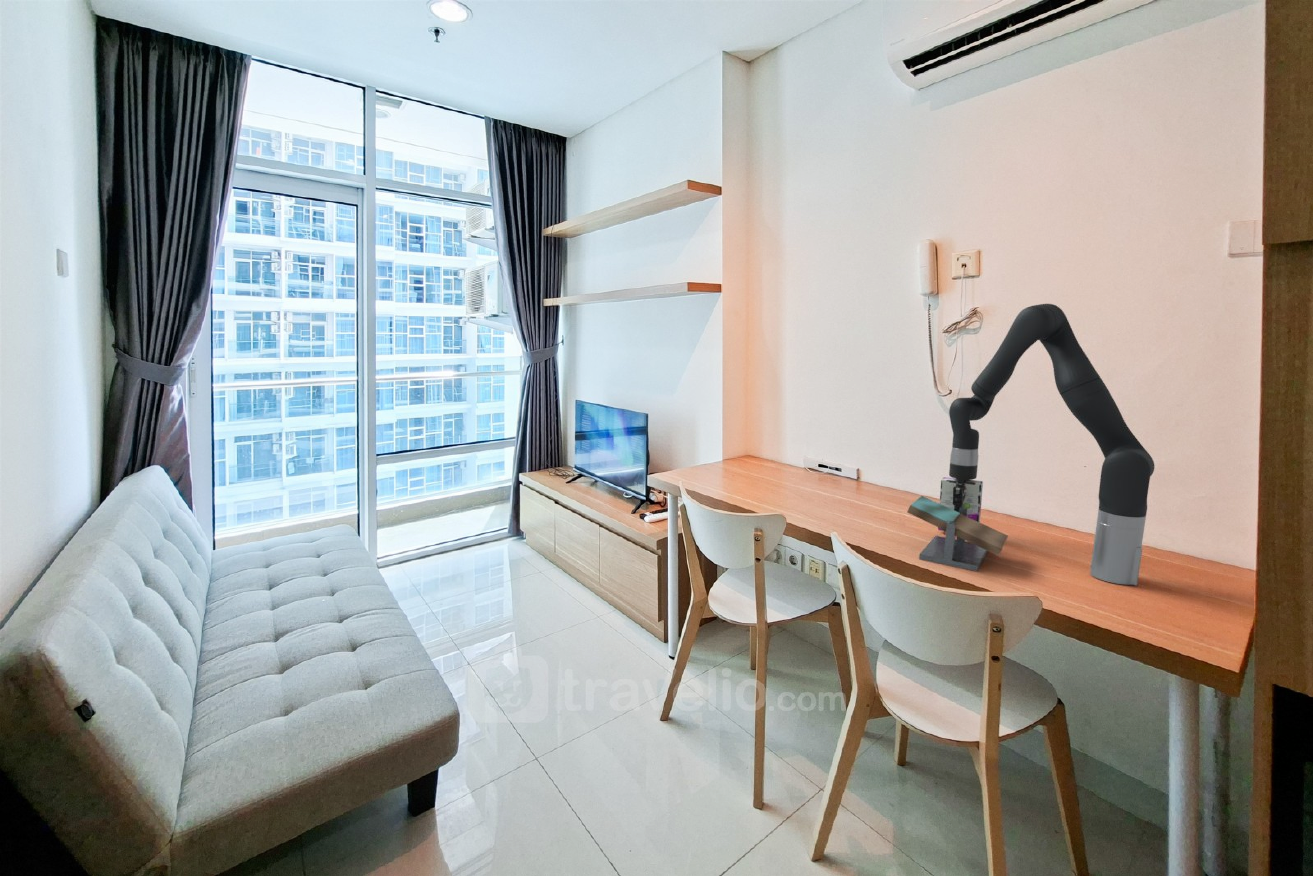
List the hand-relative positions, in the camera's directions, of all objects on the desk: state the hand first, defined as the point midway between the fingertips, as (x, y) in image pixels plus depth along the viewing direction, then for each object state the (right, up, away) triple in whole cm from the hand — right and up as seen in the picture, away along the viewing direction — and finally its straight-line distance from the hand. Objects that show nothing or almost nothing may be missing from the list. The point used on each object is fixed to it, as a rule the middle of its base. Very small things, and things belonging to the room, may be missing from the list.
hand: (959, 515), depth 176 cm
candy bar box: (0, -5, +1) cm, 5 cm away
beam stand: (-11, -9, -17) cm, 22 cm away
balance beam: (-11, 0, -19) cm, 21 cm away
